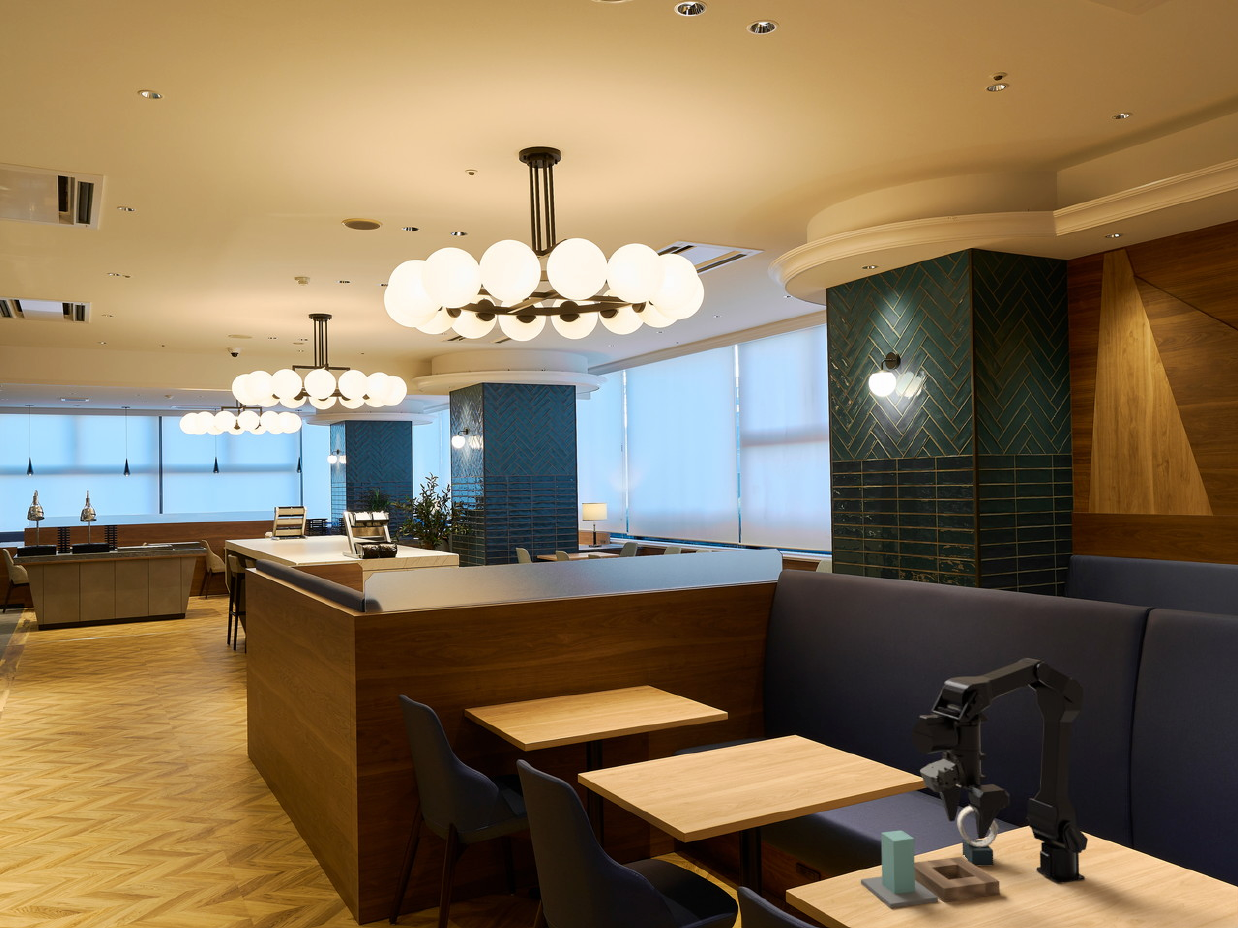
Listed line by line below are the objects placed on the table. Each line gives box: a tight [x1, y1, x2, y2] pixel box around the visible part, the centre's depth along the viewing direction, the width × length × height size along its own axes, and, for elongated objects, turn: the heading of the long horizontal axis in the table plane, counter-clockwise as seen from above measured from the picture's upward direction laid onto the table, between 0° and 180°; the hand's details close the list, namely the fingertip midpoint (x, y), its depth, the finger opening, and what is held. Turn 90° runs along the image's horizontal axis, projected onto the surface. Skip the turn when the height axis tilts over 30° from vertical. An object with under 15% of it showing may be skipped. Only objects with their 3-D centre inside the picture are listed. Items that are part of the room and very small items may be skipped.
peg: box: [881, 830, 915, 894], centre depth 177 cm, size 4×4×10 cm
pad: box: [860, 876, 939, 909], centre depth 177 cm, size 10×11×1 cm
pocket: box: [914, 856, 1001, 903], centre depth 180 cm, size 12×12×2 cm
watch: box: [956, 805, 1000, 866], centre depth 192 cm, size 6×8×11 cm
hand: (966, 829), depth 174 cm, fingers open, 9 cm apart
